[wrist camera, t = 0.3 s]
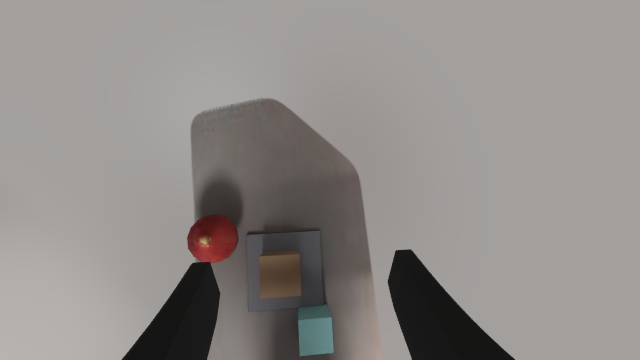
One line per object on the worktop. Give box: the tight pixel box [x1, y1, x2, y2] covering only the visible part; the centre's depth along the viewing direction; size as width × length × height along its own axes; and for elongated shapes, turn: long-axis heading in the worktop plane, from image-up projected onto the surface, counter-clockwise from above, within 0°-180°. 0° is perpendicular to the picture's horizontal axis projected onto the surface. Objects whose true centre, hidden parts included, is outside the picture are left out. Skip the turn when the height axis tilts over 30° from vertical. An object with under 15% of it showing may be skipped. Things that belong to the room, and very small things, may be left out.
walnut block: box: [259, 251, 301, 299], centre depth 36 cm, size 5×5×4 cm
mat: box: [247, 231, 324, 312], centre depth 38 cm, size 10×10×1 cm
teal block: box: [298, 304, 334, 356], centre depth 36 cm, size 4×4×5 cm
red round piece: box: [187, 215, 238, 263], centre depth 34 cm, size 6×6×8 cm
